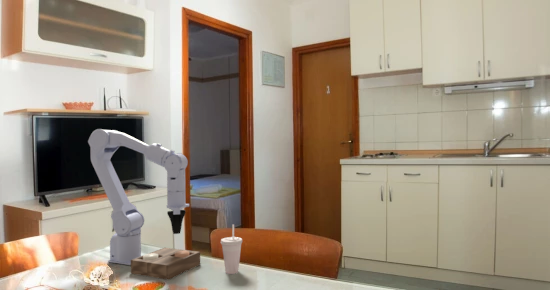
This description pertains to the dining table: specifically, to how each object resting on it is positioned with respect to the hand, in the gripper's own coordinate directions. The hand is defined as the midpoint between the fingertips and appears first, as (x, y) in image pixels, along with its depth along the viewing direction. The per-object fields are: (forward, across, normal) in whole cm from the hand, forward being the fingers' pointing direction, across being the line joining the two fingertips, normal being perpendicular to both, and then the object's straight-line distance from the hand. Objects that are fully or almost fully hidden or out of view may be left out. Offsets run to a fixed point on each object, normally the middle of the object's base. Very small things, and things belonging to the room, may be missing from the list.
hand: (176, 233), depth 125 cm
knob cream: (+8, -6, +8) cm, 13 cm away
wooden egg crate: (+9, -6, +3) cm, 12 cm away
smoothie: (+9, -15, -16) cm, 24 cm away
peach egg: (+8, -6, -2) cm, 10 cm away
